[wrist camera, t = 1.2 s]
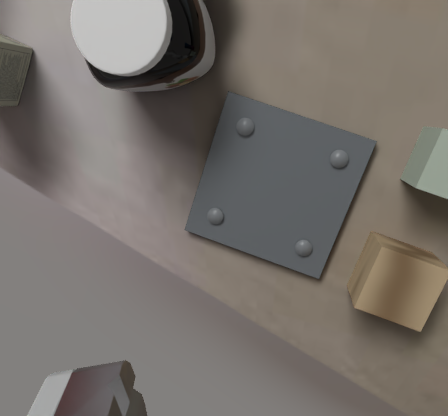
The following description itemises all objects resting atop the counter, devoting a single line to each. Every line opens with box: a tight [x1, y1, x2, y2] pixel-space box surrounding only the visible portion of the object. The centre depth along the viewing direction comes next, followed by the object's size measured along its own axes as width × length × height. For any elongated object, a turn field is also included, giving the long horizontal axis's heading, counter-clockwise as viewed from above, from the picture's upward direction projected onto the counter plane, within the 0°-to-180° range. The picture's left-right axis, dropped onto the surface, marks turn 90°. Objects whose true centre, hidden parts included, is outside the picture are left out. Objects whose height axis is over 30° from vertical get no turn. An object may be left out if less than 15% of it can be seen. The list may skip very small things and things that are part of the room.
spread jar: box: [70, 0, 215, 92], centre depth 33 cm, size 12×11×12 cm
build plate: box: [185, 91, 377, 279], centre depth 40 cm, size 14×14×1 cm
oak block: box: [347, 231, 448, 332], centre depth 38 cm, size 6×6×5 cm
